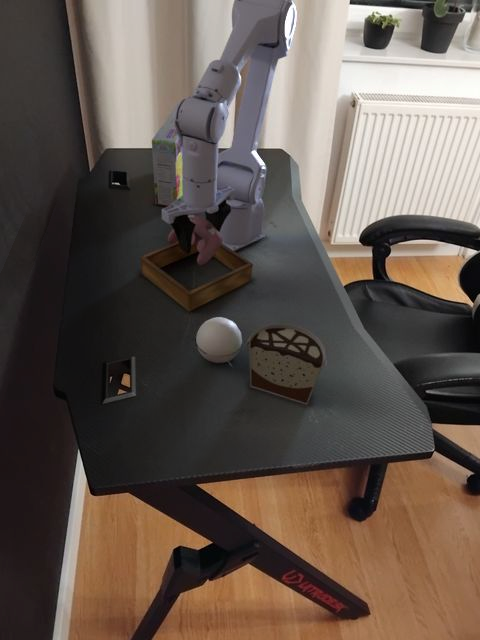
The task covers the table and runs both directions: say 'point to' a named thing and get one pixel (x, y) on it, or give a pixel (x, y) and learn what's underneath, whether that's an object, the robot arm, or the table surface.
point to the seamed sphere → (218, 340)
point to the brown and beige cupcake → (285, 361)
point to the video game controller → (207, 233)
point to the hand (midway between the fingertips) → (198, 244)
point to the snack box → (167, 162)
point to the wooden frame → (203, 293)
